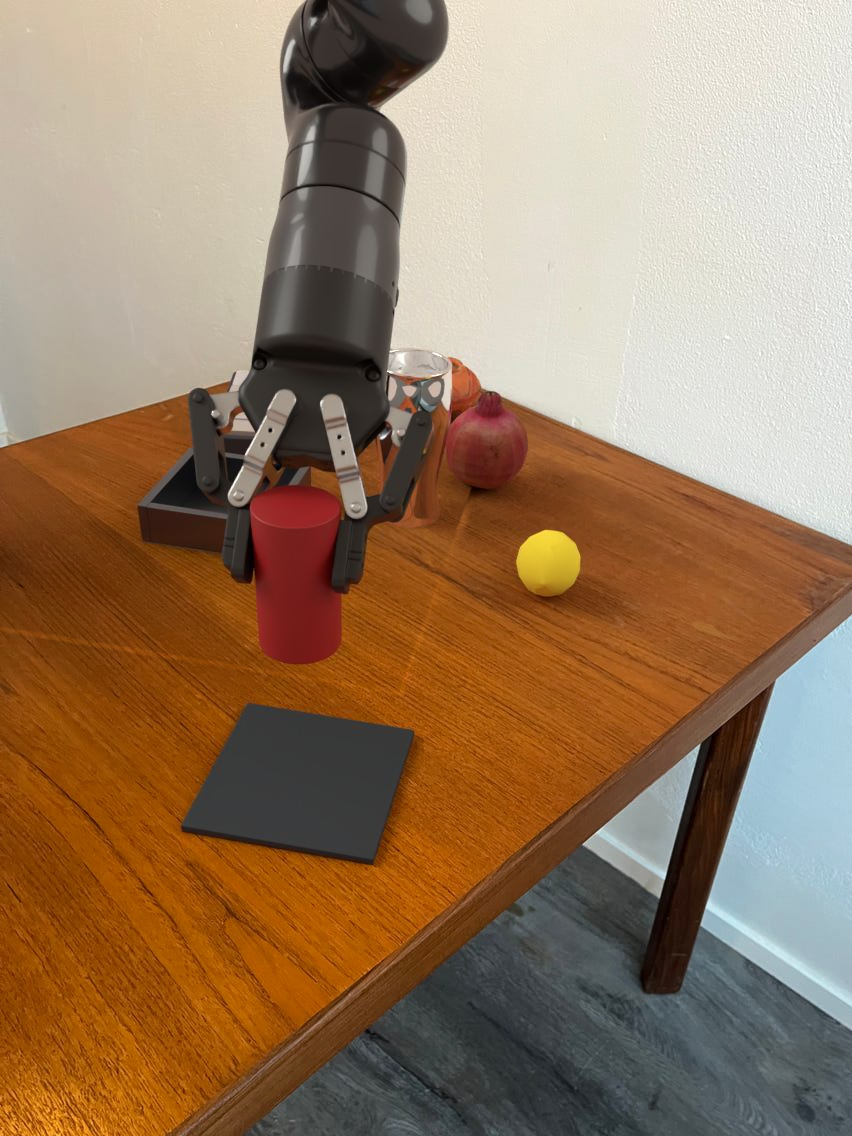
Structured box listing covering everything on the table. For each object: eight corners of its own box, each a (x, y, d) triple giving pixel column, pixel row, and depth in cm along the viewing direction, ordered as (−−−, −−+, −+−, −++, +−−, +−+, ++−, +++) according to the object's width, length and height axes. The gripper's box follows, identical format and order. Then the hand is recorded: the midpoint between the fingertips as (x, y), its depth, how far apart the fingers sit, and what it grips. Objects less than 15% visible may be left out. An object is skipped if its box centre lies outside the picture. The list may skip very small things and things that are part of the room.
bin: (142, 545, 87) (137, 505, 85) (193, 485, 96) (190, 447, 94) (272, 565, 86) (270, 525, 84) (311, 502, 95) (311, 464, 93)
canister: (247, 657, 58) (236, 520, 52) (274, 611, 61) (266, 479, 56) (329, 670, 57) (326, 533, 52) (350, 623, 61) (350, 491, 56)
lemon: (572, 616, 83) (581, 561, 80) (508, 606, 84) (514, 551, 81) (579, 572, 89) (587, 519, 86) (518, 563, 90) (525, 510, 86)
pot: (494, 407, 116) (494, 356, 111) (458, 444, 112) (456, 393, 106) (436, 386, 119) (433, 336, 114) (398, 422, 114) (393, 371, 109)
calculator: (209, 429, 98) (233, 364, 109) (213, 468, 101) (235, 400, 112) (323, 435, 99) (334, 370, 110) (324, 474, 101) (335, 406, 113)
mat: (181, 831, 61) (180, 825, 61) (247, 707, 71) (247, 702, 71) (373, 865, 61) (373, 859, 60) (414, 735, 70) (414, 729, 70)
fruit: (496, 514, 96) (506, 416, 90) (427, 488, 99) (432, 392, 94) (537, 484, 102) (549, 390, 96) (470, 460, 105) (477, 368, 99)
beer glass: (406, 542, 91) (413, 384, 82) (354, 513, 94) (356, 358, 86) (459, 518, 95) (471, 365, 86) (408, 490, 99) (414, 341, 90)
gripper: (186, 247, 54) (137, 556, 51) (453, 273, 54) (417, 585, 51) (221, 313, 61) (180, 587, 59) (456, 336, 61) (425, 612, 58)
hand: (291, 584), depth 55 cm, fingers closed on canister, 5 cm apart
